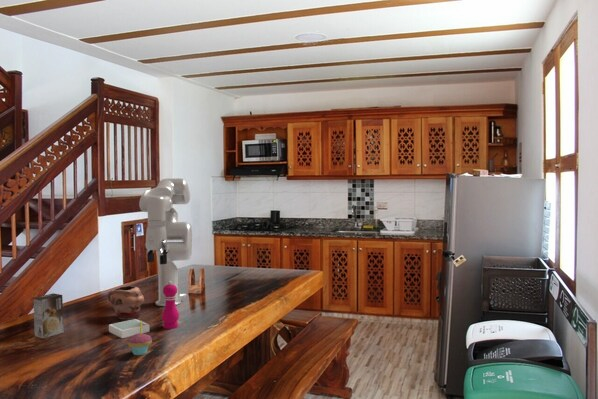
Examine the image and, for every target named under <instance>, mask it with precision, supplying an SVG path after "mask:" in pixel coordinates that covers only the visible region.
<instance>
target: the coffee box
mask: <svg viewBox="0 0 598 399" xmlns="http://www.w3.org/2000/svg"><path fill="white" fill-rule="evenodd" d="M32 300H33V322H34V323H33V324H34V326H33V327H34V337H37V338H41V339H47V338H50V337H52V336H57V335H59V334H64V331H65V329H64V306H63V305H64V304H63V300H64V299H63V294H59V293H48V294H44V295H40V296H36V297H33V298H32Z"/></svg>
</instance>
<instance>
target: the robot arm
mask: <svg viewBox="0 0 598 399" xmlns="http://www.w3.org/2000/svg"><path fill="white" fill-rule="evenodd" d="M190 192H191V191H190V188H189V184H188V183H187V181H186V180H185V178H171V177H169V178H163V179H161V180H160V181H159V182H158V184H157V186H156V187H153V188H151V189H148V190H146V191H145V190H144V192H142V194H141V197H140V198H139V204H138V205H139V209H140V211H142V212H144V213H147V228H146V234H145V242H144V246H145V250H146V254H147V255H146V258H147V263H154V262H155V253H156V258H157V266H158V267H157V268H158V269H157V272H158V274H157V275H158V300H156V301H155V305H156V306H158V307H165V303H166V302H165V299H164V298H165V297H164V296H165V295H164V293H163V288H164V287H165V286H166V285H169V284H168V282H169V281H172V285H175V286H176V287H177V293H176V299H175V305H176V306H178V305H181V303H182V300H181V299H183V298H186V297H187V293H179V290H178V289H179V288H178V286H179V284H178V283H179V281H178V280H179V279H178V278H179V276H178V274H179V273H178V270H179V269H178V267H177V265H176V264H175V263H174V261H177V262H178V261H188V260H190V259H191V257H192V254H193V253H192V252H193V250H192V248H193V244H192V243H193V228H192V226H191V224H190V223H189V222H188V221H179V214H178V212H177V210H176V209H175V208H174V207H173V205H187V204H188V203H190V200H191V193H190Z"/></svg>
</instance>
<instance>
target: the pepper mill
mask: <svg viewBox="0 0 598 399" xmlns="http://www.w3.org/2000/svg"><path fill="white" fill-rule="evenodd" d="M168 284H169V285H166V286H165V287H164V288H163V293H164V295H165V296H164V297H165V298H164V299H165V302H166V303H165V306H164V309H163V311H162V314H161V320H162V324H163V325H162V327H163V329H166V330H167V329H168V330H172V329H176V328H178V327H179V322H178V320H179V318H180V313H179V311H178V308H177V305H175V299H176V293H177V287H176V286H175V285H172V281H169V282H168Z"/></svg>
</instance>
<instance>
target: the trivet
mask: <svg viewBox="0 0 598 399" xmlns="http://www.w3.org/2000/svg"><path fill="white" fill-rule="evenodd" d="M140 322H142V334H147V333H149V332H150V324H149V323H147V322H144V321H142V320H139V319H137V318H134V319H128V320H124V321H121V322H114V323H111V324H108V332H109V333H111V334H113V335H115V336H116V337H118V338H121V339H124V338H130V337H132V336H133V335H135V334H140Z"/></svg>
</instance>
